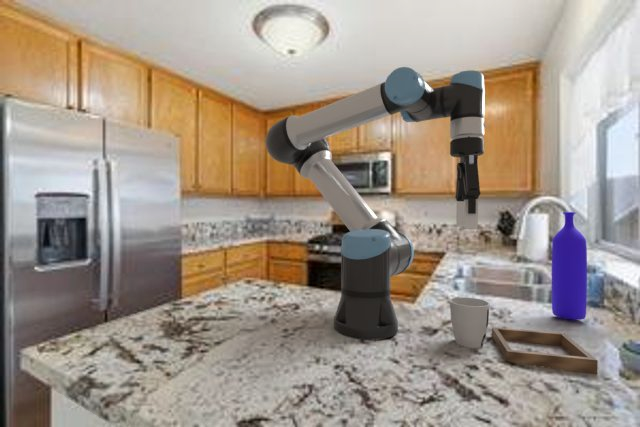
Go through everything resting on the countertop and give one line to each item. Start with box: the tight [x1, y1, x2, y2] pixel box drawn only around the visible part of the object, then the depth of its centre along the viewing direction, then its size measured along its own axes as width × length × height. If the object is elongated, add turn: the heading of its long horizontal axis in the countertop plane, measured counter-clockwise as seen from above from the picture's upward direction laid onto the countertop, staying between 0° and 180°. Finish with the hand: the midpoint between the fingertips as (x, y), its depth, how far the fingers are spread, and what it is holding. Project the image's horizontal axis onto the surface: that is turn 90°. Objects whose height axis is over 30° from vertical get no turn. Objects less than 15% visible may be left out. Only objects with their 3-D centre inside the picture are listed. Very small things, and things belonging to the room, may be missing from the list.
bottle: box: [551, 211, 588, 321], centre depth 101 cm, size 8×8×30 cm
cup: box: [449, 296, 491, 349], centre depth 77 cm, size 8×8×10 cm
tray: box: [491, 326, 598, 375], centre depth 74 cm, size 15×15×2 cm
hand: (466, 227), depth 84 cm, fingers open, 13 cm apart
